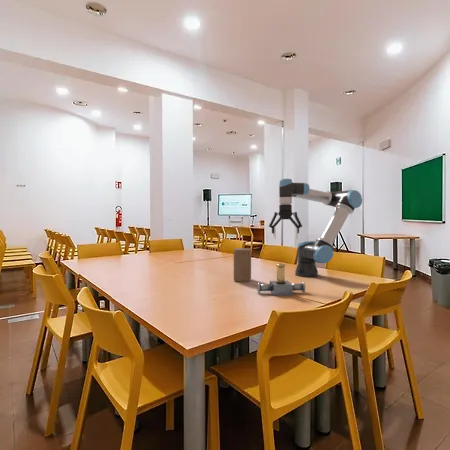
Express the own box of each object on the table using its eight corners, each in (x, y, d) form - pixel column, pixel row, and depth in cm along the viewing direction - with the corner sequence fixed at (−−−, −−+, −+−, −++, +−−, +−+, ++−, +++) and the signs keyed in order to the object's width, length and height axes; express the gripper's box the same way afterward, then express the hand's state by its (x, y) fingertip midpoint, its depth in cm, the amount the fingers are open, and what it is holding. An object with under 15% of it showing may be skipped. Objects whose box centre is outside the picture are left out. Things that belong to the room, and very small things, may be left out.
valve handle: (283, 289, 168) (283, 263, 167) (286, 291, 163) (286, 264, 163) (275, 289, 168) (275, 263, 167) (277, 291, 163) (277, 264, 162)
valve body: (300, 290, 171) (300, 280, 171) (306, 295, 161) (306, 284, 161) (256, 291, 170) (256, 280, 170) (259, 295, 160) (259, 285, 160)
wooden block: (249, 282, 191) (249, 250, 190) (233, 281, 193) (233, 249, 192) (251, 278, 201) (251, 248, 200) (236, 278, 203) (235, 247, 202)
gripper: (303, 204, 195) (303, 238, 195) (264, 204, 193) (264, 238, 194) (307, 204, 187) (307, 239, 188) (266, 204, 186) (266, 239, 186)
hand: (285, 238), depth 191 cm, fingers open, 13 cm apart
